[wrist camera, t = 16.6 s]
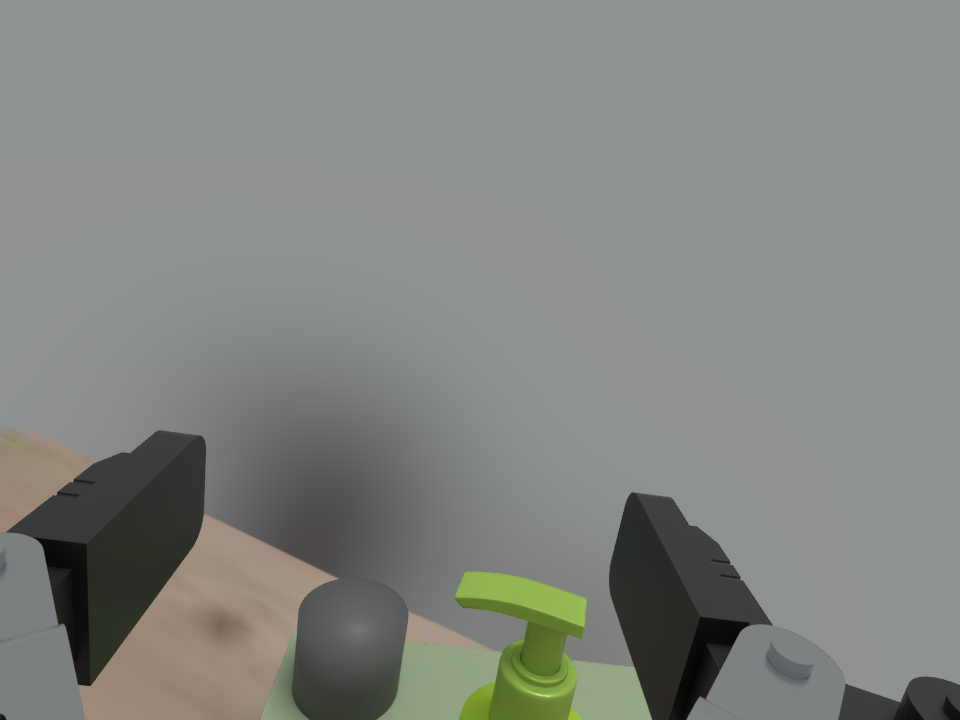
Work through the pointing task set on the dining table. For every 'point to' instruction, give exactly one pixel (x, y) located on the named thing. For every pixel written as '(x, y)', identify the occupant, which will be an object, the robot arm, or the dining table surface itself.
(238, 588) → the dining table surface
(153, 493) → the robot arm
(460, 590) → the soap dispenser
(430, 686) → the green block with tray
